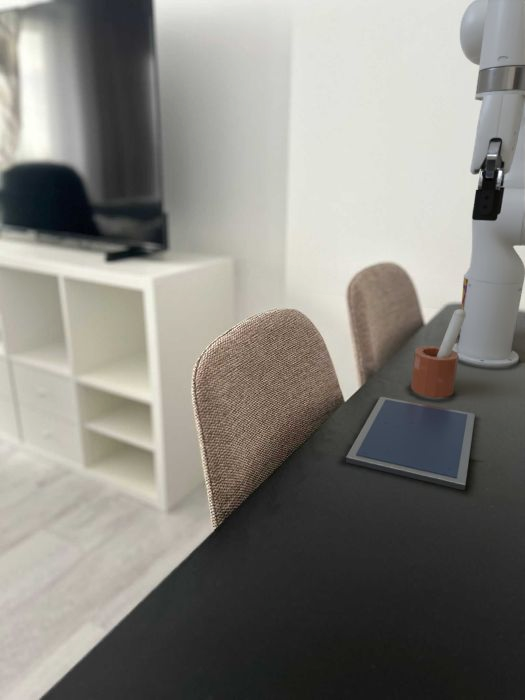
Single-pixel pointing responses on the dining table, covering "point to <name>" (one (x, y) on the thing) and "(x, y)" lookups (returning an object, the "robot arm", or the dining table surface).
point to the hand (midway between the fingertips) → (486, 217)
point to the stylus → (452, 333)
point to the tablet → (416, 442)
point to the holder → (434, 372)
